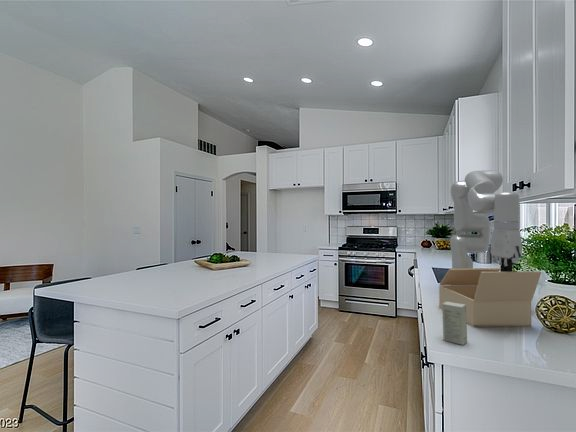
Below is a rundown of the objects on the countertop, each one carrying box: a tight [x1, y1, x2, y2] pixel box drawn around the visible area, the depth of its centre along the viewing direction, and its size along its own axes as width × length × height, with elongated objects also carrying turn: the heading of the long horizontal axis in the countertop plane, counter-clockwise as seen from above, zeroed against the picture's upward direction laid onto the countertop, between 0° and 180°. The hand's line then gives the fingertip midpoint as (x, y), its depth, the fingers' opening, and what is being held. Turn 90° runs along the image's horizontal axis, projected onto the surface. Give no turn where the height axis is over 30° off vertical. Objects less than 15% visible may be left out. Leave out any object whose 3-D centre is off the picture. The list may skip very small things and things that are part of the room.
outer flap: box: [474, 270, 542, 301], centre depth 110 cm, size 12×22×1 cm
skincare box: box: [442, 302, 468, 346], centre depth 100 cm, size 6×4×12 cm
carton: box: [438, 285, 532, 328], centre depth 124 cm, size 24×22×10 cm
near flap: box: [438, 267, 500, 286], centre depth 132 cm, size 12×22×1 cm
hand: (506, 276), depth 110 cm, fingers closed
